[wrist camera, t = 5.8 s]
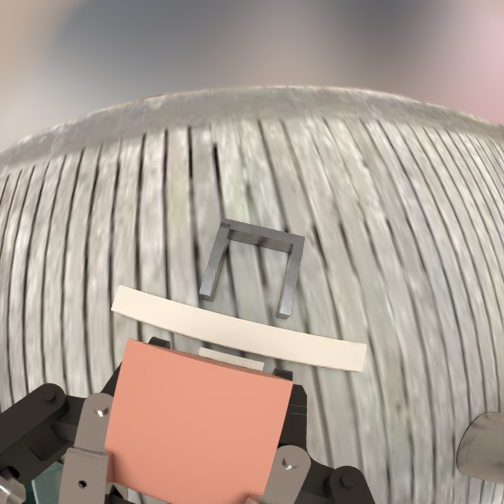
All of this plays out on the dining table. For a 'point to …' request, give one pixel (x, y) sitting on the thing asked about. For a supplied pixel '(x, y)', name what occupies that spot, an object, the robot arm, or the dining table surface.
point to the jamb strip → (239, 334)
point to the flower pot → (45, 486)
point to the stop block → (194, 426)
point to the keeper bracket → (259, 238)
